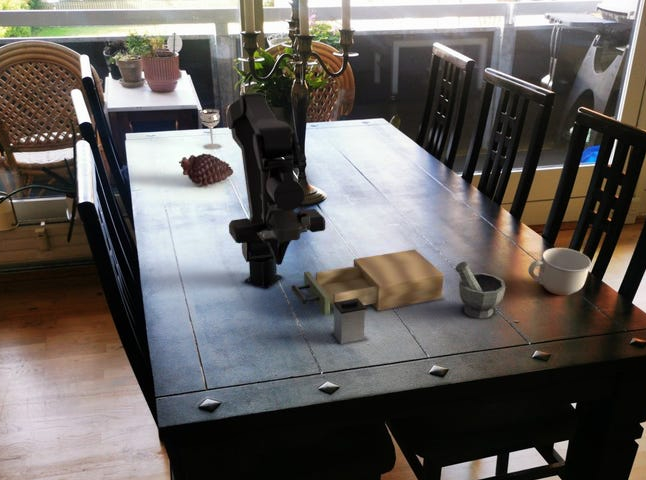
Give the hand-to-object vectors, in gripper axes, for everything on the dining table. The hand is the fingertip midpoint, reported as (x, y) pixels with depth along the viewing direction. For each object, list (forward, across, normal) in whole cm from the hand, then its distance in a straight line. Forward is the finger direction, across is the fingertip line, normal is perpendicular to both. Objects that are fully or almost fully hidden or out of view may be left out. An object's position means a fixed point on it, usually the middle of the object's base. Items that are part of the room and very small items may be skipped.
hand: (278, 264), depth 151 cm
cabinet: (+12, +28, 0) cm, 30 cm away
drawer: (+11, +13, 0) cm, 17 cm away
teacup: (+12, +62, -12) cm, 64 cm away
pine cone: (+13, +5, +84) cm, 86 cm away
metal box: (+12, +10, -15) cm, 21 cm away
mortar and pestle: (+12, +40, -15) cm, 44 cm away
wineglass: (+13, +16, +121) cm, 123 cm away
